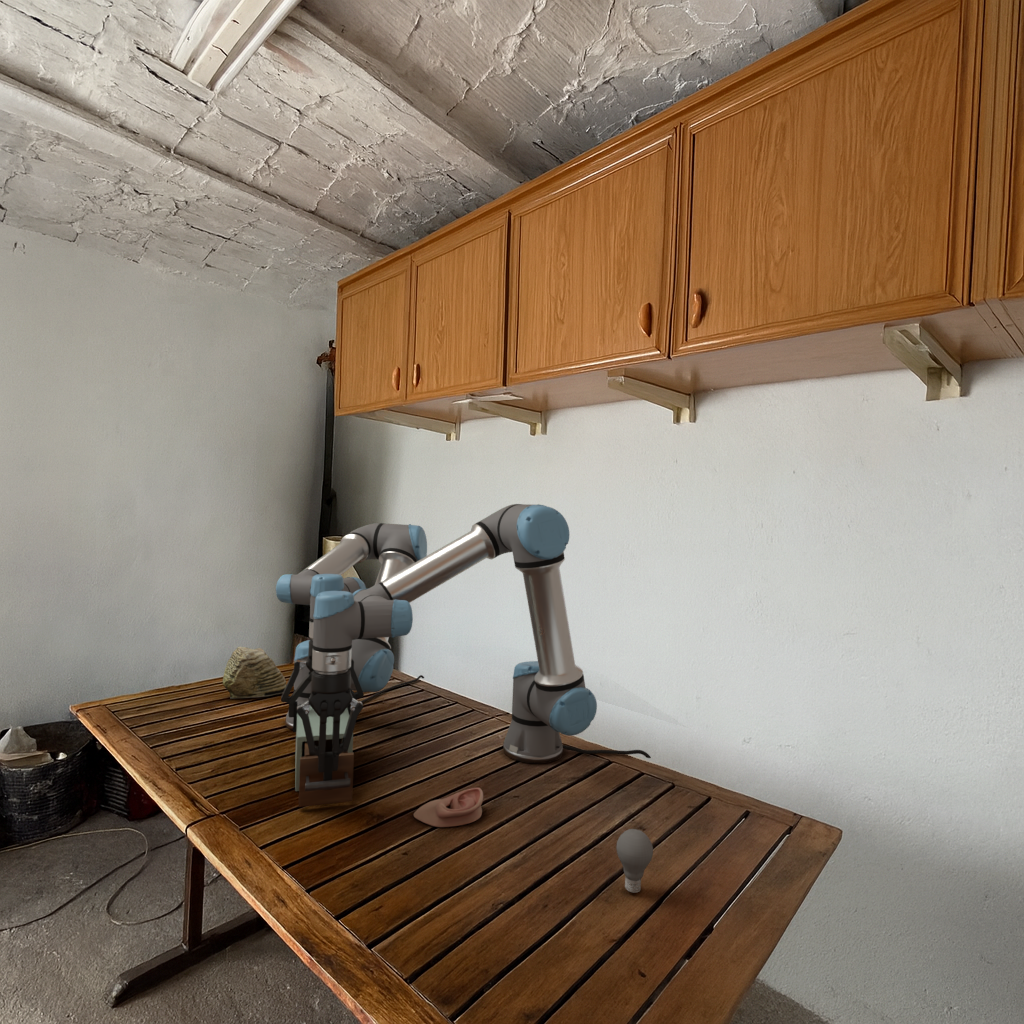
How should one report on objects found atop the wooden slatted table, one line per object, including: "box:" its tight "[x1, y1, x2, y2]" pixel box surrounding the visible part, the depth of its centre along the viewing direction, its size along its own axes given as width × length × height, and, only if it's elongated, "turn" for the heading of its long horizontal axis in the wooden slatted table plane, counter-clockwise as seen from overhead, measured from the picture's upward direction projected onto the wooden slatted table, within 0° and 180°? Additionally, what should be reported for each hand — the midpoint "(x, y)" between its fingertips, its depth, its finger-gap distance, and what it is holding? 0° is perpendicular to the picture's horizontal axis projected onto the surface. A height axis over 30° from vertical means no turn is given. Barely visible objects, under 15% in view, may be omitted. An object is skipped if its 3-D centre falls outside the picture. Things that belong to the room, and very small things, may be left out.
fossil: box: [222, 646, 287, 699], centre depth 198 cm, size 9×18×15 cm, turn 132°
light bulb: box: [615, 828, 654, 894], centre depth 106 cm, size 6×6×10 cm
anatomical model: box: [413, 787, 484, 828], centre depth 129 cm, size 13×4×12 cm
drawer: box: [298, 738, 355, 808], centre depth 135 cm, size 24×10×10 cm, turn 19°
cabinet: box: [294, 706, 354, 792], centre depth 147 cm, size 20×12×12 cm, turn 19°
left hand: (321, 728), depth 153 cm, fingers closed on cabinet, 12 cm apart
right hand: (327, 786), depth 127 cm, fingers closed
